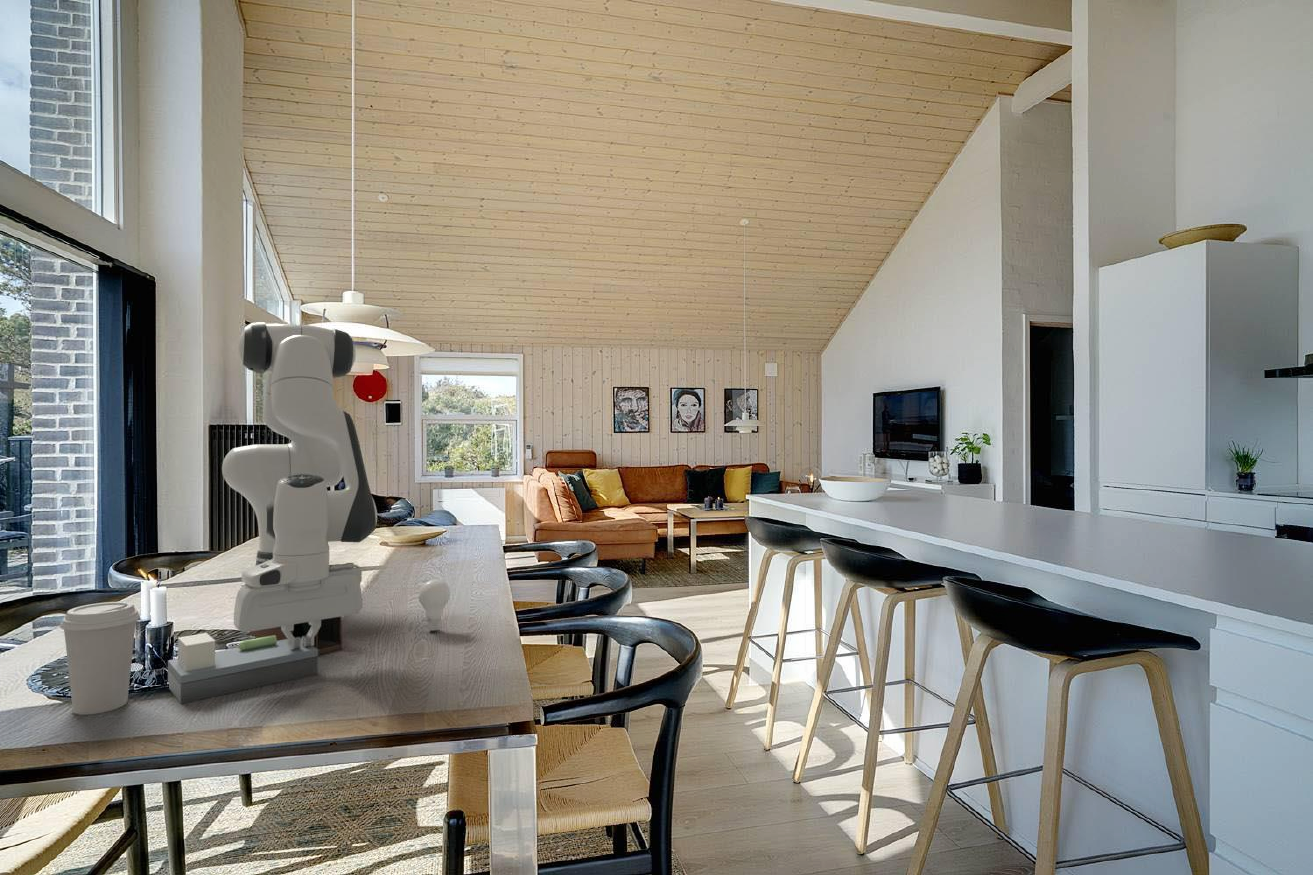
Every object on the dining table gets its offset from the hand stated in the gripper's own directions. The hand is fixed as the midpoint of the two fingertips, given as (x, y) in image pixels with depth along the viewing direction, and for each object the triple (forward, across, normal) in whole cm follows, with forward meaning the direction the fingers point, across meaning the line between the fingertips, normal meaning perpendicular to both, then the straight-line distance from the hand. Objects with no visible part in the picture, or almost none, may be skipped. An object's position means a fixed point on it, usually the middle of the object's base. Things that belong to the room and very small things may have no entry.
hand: (301, 647), depth 123 cm
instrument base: (+4, +8, -2) cm, 9 cm away
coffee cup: (+4, +27, -4) cm, 28 cm away
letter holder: (+5, -5, -18) cm, 19 cm away
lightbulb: (+4, -29, -8) cm, 30 cm away
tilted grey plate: (+1, +8, -2) cm, 8 cm away
